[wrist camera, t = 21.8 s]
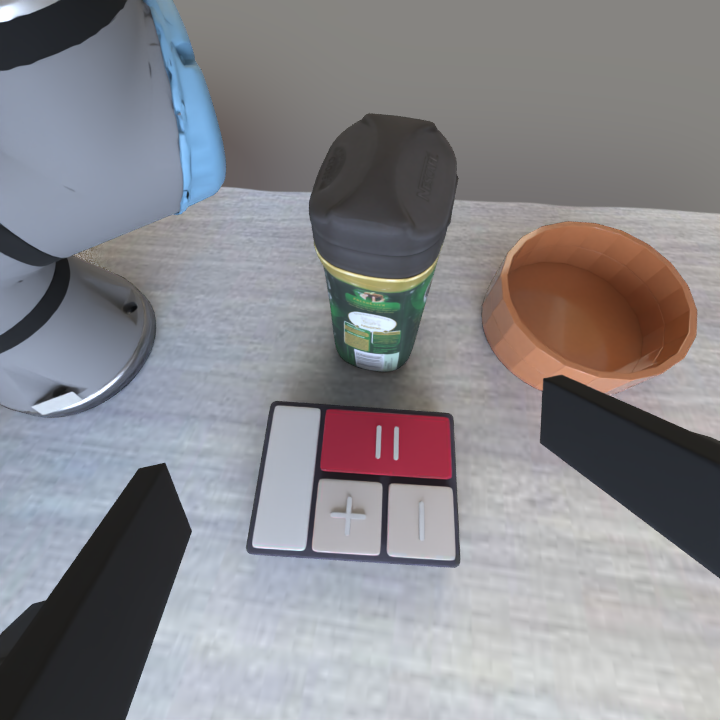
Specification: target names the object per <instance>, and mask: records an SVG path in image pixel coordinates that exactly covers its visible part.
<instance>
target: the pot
mask: <svg viewBox="0 0 720 720" xmlns="http://www.w3.org/2000/svg"><path fill="white" fill-rule="evenodd" d="M482 324H483V328H484V332H485V335H486V338H487V340H488V343H489V344H490V346H491V348H492V350H493V352H494V353H495V354H496V356H497V357H498V359H499V360H500V361H501V362H502V363H503V364H504V365H505V367H506V368H507V369H509V370H510V371H511V372H512V373H513V374H514V375H515V376H517V377H518V378H519V379H521V380H522V381H524V382H525V383H527V384H529V385H530V386H532V387H534V388H536V389H538V390H541V391H543V378H548V377H552V376H557V375H561V374H562V375H564V376H566V377H569V378H571V379H573V380H575V381H578V382H580V383H582V384H584V385H587V386H589V387H591V388H593V389H596V390H598V391H600V392H602V393H605V394H607V395H612V394H616V393H619V392H621V391H623V390H625V389H628V388H630V387H632V386H635V385H637V384H639V383H641V382H644V381H646V380H648V379H651V378H653V377H655V376H658V375H660V374H662V373H664V372H665V371H667V370H668V369H669V368H671V367H672V366H674V365H675V364H677V363H678V362H679V361H681V360H682V359H684V357H685V356H686V354H687V352H688V350H689V348H690V347H691V345H692V343H693V341H694V339H695V338H696V332H697V309H696V306H695V303H694V300H693V297H692V294H691V292H690V289H689V287H688V285H687V283H686V282H685V281H684V279H683V278H682V277H681V275H680V274H679V273H678V271H677V270H676V269H675V267H674V266H673V264H671V262H669V261H668V260H667V259H666V258H665V257H663V256H662V255H661V254H660V253H659V252H657V251H656V250H655V249H654V248H653V247H651V246H650V245H648V244H647V243H645V242H643V241H641V240H639V239H637V238H635V237H633V236H631V235H630V234H628V233H626V232H624V231H622V230H618V229H614V228H611V227H607V226H604V225H600V224H596V223H586V222H569V221H568V222H562V223H556V224H551V225H546V226H542V227H540V228H538V229H536V230H534V231H532V232H530V233H529V234H527V235H525V236H523V237H521V238H520V240H519V241H518V242H517V243H516V244H515V245H514V246H513V248H512V249H511V250H510V251H509V252H508V253H507V255H506V257H505V259H504V260H503V262H502V264H501V266H500V267H499V269H498V271H497V273H496V274H495V276H494V278H493V280H492V281H491V283H490V285H489V287H488V289H487V292H486V295H485V297H484V301H483V304H482Z"/></svg>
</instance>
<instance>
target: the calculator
mask: <svg viewBox="0 0 720 720" xmlns="http://www.w3.org/2000/svg"><path fill="white" fill-rule="evenodd" d="M246 549H247V552H248V553H249V554H254V555H268V556H283V557H299V558H314V559H329V560H344V561H360V562H375V563H390V564H405V565H420V566H436V567H451V568H455V567H457V566H459V564H460V544H459V523H458V503H457V482H456V461H455V441H454V421H453V416H452V415H451V414H449V413H440V412H426V411H411V410H397V409H383V408H369V407H355V406H340V405H326V404H312V403H298V402H283V401H275V402H273V403H272V404H271V406H270V411H269V417H268V423H267V429H266V434H265V440H264V446H263V452H262V458H261V464H260V469H259V475H258V481H257V487H256V493H255V498H254V504H253V510H252V516H251V522H250V528H249V533H248V539H247V545H246Z"/></svg>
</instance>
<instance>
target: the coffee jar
mask: <svg viewBox="0 0 720 720" xmlns="http://www.w3.org/2000/svg"><path fill="white" fill-rule="evenodd" d="M456 165H457V163H456V157H455V154H454V151H453V150H452V147H451V146H450V144H449V142H448V141H447V140H446V138H445V137H444V136H443V135H442V134H441V132H440V131H439V130H437V128H436V126H435V124H434V123H433V122H430V121H424V120H420V119H413V118H407V117H401V116H393V115H382V114H366V115H365V116H364V117H363V119H362V120H360V121H358V122H357V123H355V124H354V125H352V126H350V127H349V128H347V129H346V130H345V131H344V132H342V133H341V134H340V135H339V136H338V137H337V138H336V140H335V141H334V142H333V144H332V146H331V147H330V149H329V151H328V153H327V155H326V158H325V159H324V161H323V163H322V166H321V168H320V170H319V173H318V175H317V178H316V181H315V184H314V187H313V191H312V194H311V196H310V201H309V216H310V221H311V224H312V231H313V238H314V246H315V250H316V252H317V255H318V257H319V259H320V261H321V263H322V264H323V266H324V271H325V276H326V282H327V288H328V295H329V301H330V308H331V315H332V325H333V333H334V339H335V345H336V349H337V352H338V354H339V355H340V357H341V358H342V359H343V360H344V361H346V362H348V363H349V364H352V365H354V366H357V367H360V368H363V369H367V370H372V371H382V372H387V371H393V370H396V369H398V368H400V367H401V366H402V365H404V364H405V362H406V361H407V360H408V358H409V356H410V354H411V351H412V348H413V345H414V342H415V339H416V335H417V332H418V328H419V324H420V320H421V317H422V313H423V310H424V306H425V303H426V299H427V296H428V292H429V289H430V286H431V282H432V278H433V275H434V271H435V268H436V264H437V261H438V258H439V254H440V251H441V248H442V245H443V242H444V239H445V235H446V231H447V227H448V226H449V224H450V222H451V215H452V209H453V204H454V198H455V193H456V188H457V182H458V176H457V174H456V171H457V166H456Z"/></svg>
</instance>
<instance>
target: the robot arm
mask: <svg viewBox="0 0 720 720" xmlns="http://www.w3.org/2000/svg"><path fill="white" fill-rule="evenodd" d="M225 175H226V159H225V153H224V146H223V141H222V137H221V133H220V129H219V125H218V121H217V117H216V114H215V110H214V107H213V103H212V100H211V97H210V94H209V91H208V88H207V85H206V82H205V79H204V76H203V74H202V71H201V69H200V67H199V66H198V65H197V63H196V61H195V57H194V53H193V49H192V47H191V43H190V40H189V37H188V34H187V31H186V29H185V26H184V24H183V22H182V19H181V17H180V15H179V13H178V10H177V8H176V6H175V4H174V3H173V0H0V405H2V406H4V407H6V408H8V409H12V410H15V411H19V412H23V413H26V414H30V415H34V416H40V417H62V416H69V415H73V414H77V413H80V412H83V411H86V410H88V409H91V408H93V407H95V406H97V405H99V404H101V403H103V402H105V401H106V400H108V399H109V398H111V397H112V396H114V395H115V394H116V393H118V392H119V391H120V390H122V389H123V388H124V387H125V386H126V385H127V384H128V383H129V382H130V381H131V380H132V379H133V378H134V377H135V376H136V374H137V373H138V372H139V370H140V369H141V368H142V366H143V365H144V363H145V361H146V360H147V358H148V356H149V354H150V351H151V349H152V346H153V343H154V339H155V333H156V320H155V315H154V311H153V308H152V306H151V304H150V302H149V301H148V300H147V298H146V297H145V296H144V295H143V294H142V293H141V292H140V291H139V290H138V289H137V288H136V287H135V286H134V285H133V284H131V283H130V282H129V281H128V280H126V279H125V278H123V277H121V276H119V275H117V274H114V273H112V272H110V271H107V270H105V269H103V268H101V267H98V266H96V265H94V264H91V263H89V262H87V261H84V260H82V259H80V258H78V257H75V256H73V255H74V254H77V253H79V252H82V251H84V250H87V249H89V248H91V247H94V246H96V245H99V244H101V243H104V242H106V241H109V240H111V239H113V238H116V237H118V236H121V235H123V234H126V233H128V232H131V231H133V230H136V229H138V228H140V227H143V226H145V225H148V224H150V223H153V222H155V221H158V220H160V219H162V218H165V217H167V216H170V215H172V214H174V215H179V214H182V212H184V211H186V209H187V207H189V206H191V205H193V204H195V203H197V202H200V201H202V200H204V199H206V198H208V197H210V196H212V195H214V194H215V193H216V192H218V190H219V189H220V187H221V185H222V184H223V182H224V180H225ZM540 443H541V444H542V445H544V446H545V447H546V448H548V449H549V450H550V451H552V452H553V453H554V454H556V455H557V456H558V457H560V458H561V459H562V460H563V461H565V462H566V463H567V464H569V465H570V466H571V467H573V468H574V469H575V470H577V471H578V472H579V473H581V474H582V475H583V476H585V477H586V478H587V479H589V480H590V481H591V482H593V483H594V484H595V485H597V486H598V487H599V488H601V489H602V490H603V491H605V492H606V493H607V494H609V495H610V496H611V497H613V498H614V499H615V500H617V501H618V502H619V503H621V504H622V505H623V506H625V507H626V508H627V509H628V510H630V511H631V512H632V513H634V514H635V515H636V516H638V517H639V518H640V519H642V520H643V521H644V522H646V523H647V524H648V525H650V526H651V527H652V528H654V529H655V530H656V531H658V532H659V533H660V534H662V535H663V536H664V537H666V538H667V539H668V540H670V541H671V542H672V543H674V544H675V545H676V546H678V547H679V548H680V549H682V550H683V551H684V552H686V553H687V554H688V555H690V556H691V557H692V558H694V559H695V560H696V561H697V562H699V563H700V564H701V565H703V566H704V567H705V568H707V569H708V570H709V571H711V572H712V573H713V574H715V575H716V576H717V577H719V578H720V441H718V440H716V439H713V438H711V437H708V436H704V435H701V434H697V433H694V432H691V431H688V430H686V429H684V428H681V427H679V426H677V425H675V424H672V423H670V422H668V421H666V420H663V419H661V418H659V417H657V416H654V415H652V414H650V413H648V412H645V411H643V410H641V409H639V408H636V407H634V406H632V405H630V404H627V403H625V402H623V401H620V400H618V399H616V398H614V397H611V396H609V395H607V394H605V393H602V392H600V391H598V390H596V389H593V388H591V387H589V386H587V385H584V384H582V383H580V382H578V381H575V380H573V379H571V378H569V377H566V376H564V375H562V374H561V375H557V376H552V377H548V378H543V392H542V413H541V434H540ZM191 532H192V530H191V528H190V525H189V523H188V520H187V518H186V515H185V512H184V510H183V507H182V505H181V502H180V500H179V497H178V494H177V492H176V489H175V487H174V484H173V482H172V479H171V476H170V474H169V471H168V469H167V466H166V464H165V463H162V464H157V465H153V466H148V467H144V468H139V469H138V470H137V472H136V473H135V475H134V476H133V478H132V479H131V480H130V482H129V483H128V485H127V486H126V488H125V489H124V490H123V492H122V493H121V495H120V496H119V497H118V499H117V500H116V502H115V503H114V505H113V506H112V507H111V509H110V510H109V512H108V513H107V515H106V516H105V517H104V519H103V520H102V522H101V523H100V524H99V526H98V527H97V529H96V530H95V532H94V533H93V534H92V536H91V537H90V539H89V540H88V542H87V543H86V544H85V546H84V547H83V549H82V550H81V552H80V553H79V554H78V556H77V557H76V559H75V560H74V561H73V563H72V564H71V566H70V567H69V569H68V570H67V571H66V573H65V574H64V576H63V577H62V579H61V580H60V581H59V583H58V584H57V586H56V587H55V589H54V590H53V591H52V593H51V594H50V596H49V597H48V598H47V600H46V601H42V602H38V603H35V604H32V605H31V606H30V607H29V608H28V609H27V610H25V611H24V612H23V613H22V614H21V615H20V616H19V617H18V618H17V619H16V620H15V621H14V622H13V623H12V624H11V625H10V626H8V627H7V628H6V629H5V630H4V631H3V632H2V633H1V635H0V720H125V719H126V716H127V714H128V711H129V708H130V705H131V702H132V699H133V697H134V694H135V691H136V688H137V685H138V682H139V680H140V677H141V674H142V671H143V668H144V665H145V663H146V660H147V657H148V654H149V651H150V648H151V646H152V643H153V640H154V637H155V634H156V631H157V629H158V626H159V623H160V620H161V617H162V614H163V612H164V609H165V606H166V603H167V600H168V597H169V595H170V592H171V589H172V586H173V583H174V580H175V578H176V575H177V572H178V569H179V566H180V563H181V560H182V558H183V555H184V552H185V549H186V546H187V543H188V541H189V538H190V535H191Z"/></svg>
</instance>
